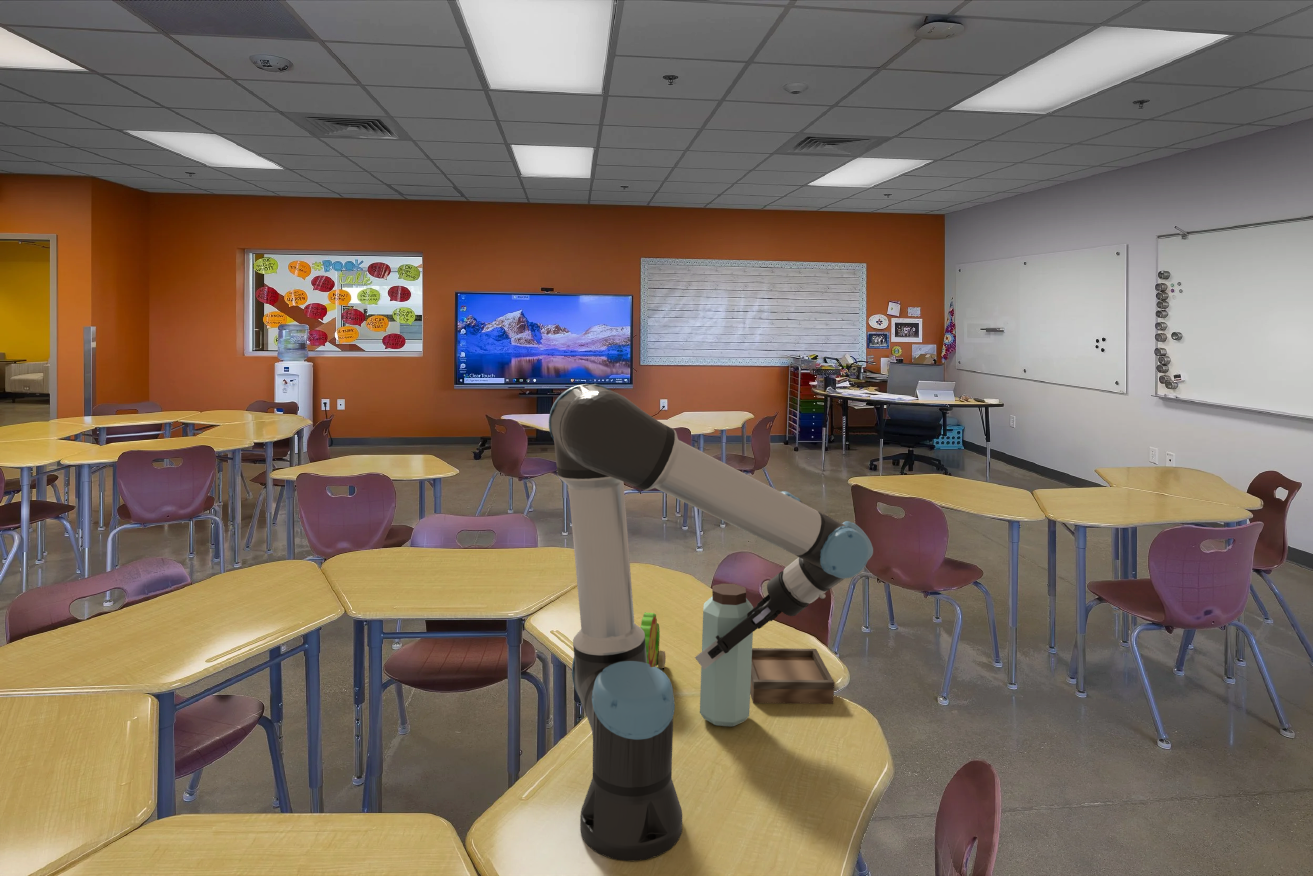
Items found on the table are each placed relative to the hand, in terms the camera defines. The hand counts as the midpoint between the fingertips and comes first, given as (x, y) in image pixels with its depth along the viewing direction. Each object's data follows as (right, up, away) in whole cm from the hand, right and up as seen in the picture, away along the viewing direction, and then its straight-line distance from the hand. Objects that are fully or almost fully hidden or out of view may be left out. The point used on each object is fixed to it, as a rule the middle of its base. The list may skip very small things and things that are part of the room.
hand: (711, 652), depth 146 cm
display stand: (+16, -11, +15) cm, 25 cm away
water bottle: (+2, -12, 0) cm, 13 cm away
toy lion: (-12, -10, +16) cm, 23 cm away
